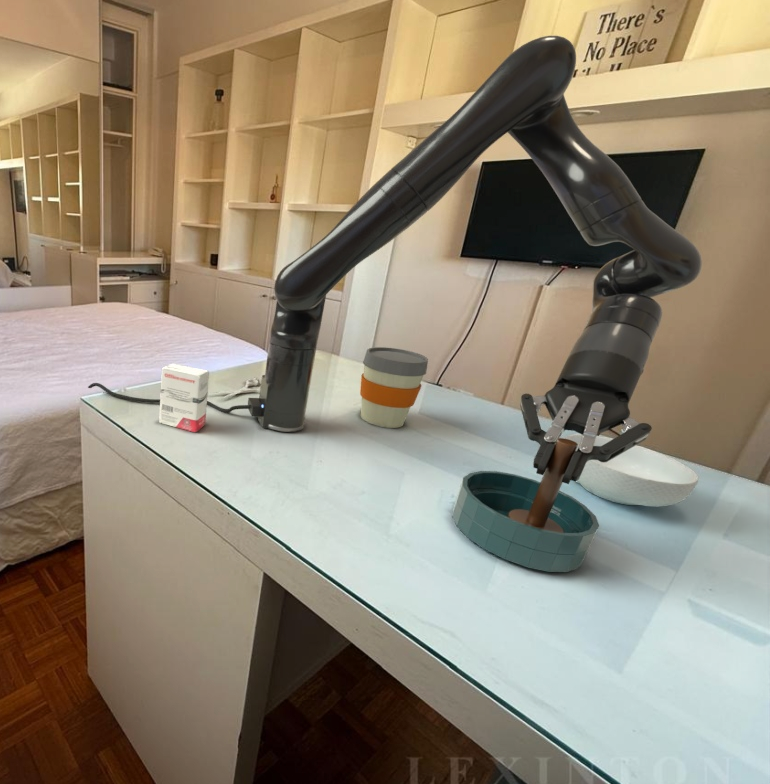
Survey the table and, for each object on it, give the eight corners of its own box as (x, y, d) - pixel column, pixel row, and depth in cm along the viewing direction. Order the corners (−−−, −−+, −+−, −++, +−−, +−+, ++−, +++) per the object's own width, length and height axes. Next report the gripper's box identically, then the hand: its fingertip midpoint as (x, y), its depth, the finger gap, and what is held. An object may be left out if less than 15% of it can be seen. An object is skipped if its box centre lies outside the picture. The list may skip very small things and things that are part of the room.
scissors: (286, 389, 114) (227, 402, 102) (285, 391, 114) (227, 406, 102) (255, 376, 122) (198, 388, 110) (255, 379, 122) (197, 391, 110)
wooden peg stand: (526, 549, 58) (565, 452, 53) (494, 520, 64) (526, 430, 59) (570, 550, 58) (612, 453, 53) (534, 521, 64) (569, 431, 59)
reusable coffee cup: (423, 424, 100) (441, 359, 95) (390, 436, 93) (408, 366, 88) (373, 405, 109) (387, 344, 104) (340, 414, 103) (353, 350, 97)
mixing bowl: (499, 574, 56) (514, 534, 54) (430, 503, 70) (440, 469, 68) (612, 575, 57) (632, 536, 55) (522, 505, 71) (535, 472, 69)
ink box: (206, 424, 93) (210, 369, 89) (195, 433, 88) (200, 376, 84) (169, 415, 96) (172, 361, 92) (157, 423, 92) (160, 367, 88)
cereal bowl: (653, 534, 66) (674, 492, 64) (530, 478, 80) (543, 442, 78) (697, 507, 74) (717, 470, 72) (577, 460, 88) (591, 427, 85)
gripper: (542, 337, 62) (490, 442, 58) (686, 362, 53) (635, 489, 49) (537, 368, 67) (489, 466, 63) (667, 396, 58) (620, 512, 54)
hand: (553, 475), depth 56 cm, fingers closed on wooden peg stand
